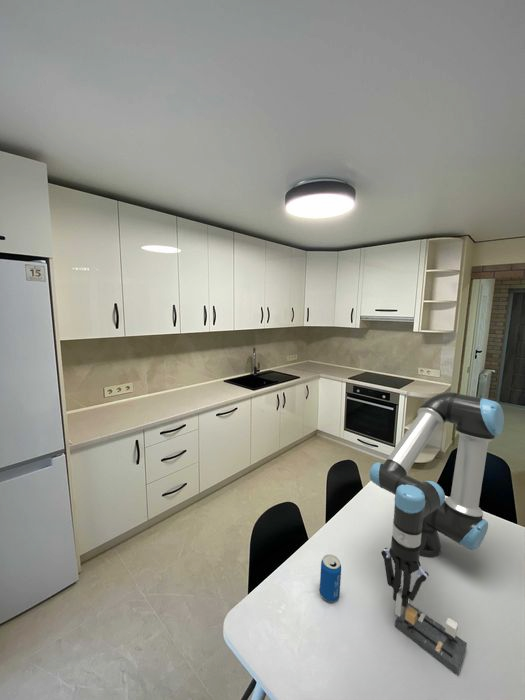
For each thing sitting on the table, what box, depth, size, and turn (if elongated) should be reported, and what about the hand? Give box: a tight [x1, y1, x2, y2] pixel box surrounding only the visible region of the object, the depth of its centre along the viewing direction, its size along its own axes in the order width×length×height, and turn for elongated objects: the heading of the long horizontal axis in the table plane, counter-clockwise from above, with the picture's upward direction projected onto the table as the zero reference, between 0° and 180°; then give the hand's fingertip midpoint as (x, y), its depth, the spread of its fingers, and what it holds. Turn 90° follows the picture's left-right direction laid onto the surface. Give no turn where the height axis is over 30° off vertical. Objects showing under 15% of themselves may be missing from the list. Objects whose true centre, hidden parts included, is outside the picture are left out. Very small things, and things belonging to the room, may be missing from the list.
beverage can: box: [319, 553, 342, 603], centre depth 95 cm, size 6×6×12 cm
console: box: [394, 602, 468, 676], centre depth 83 cm, size 16×9×2 cm, turn 43°
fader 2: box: [444, 616, 459, 640], centre depth 82 cm, size 2×2×4 cm
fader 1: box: [405, 606, 417, 627], centre depth 85 cm, size 2×2×4 cm
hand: (399, 612), depth 87 cm, fingers closed
